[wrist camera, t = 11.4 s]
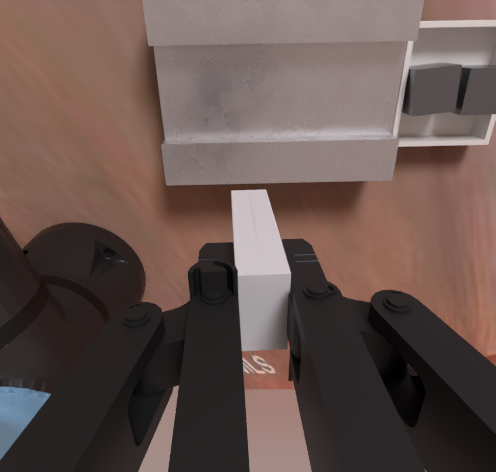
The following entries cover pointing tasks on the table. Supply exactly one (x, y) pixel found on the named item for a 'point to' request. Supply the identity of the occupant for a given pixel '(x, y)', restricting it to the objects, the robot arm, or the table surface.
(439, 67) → the dark gray cube
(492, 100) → the dark grey cube
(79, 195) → the table surface
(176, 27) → the slot block
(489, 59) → the tray
